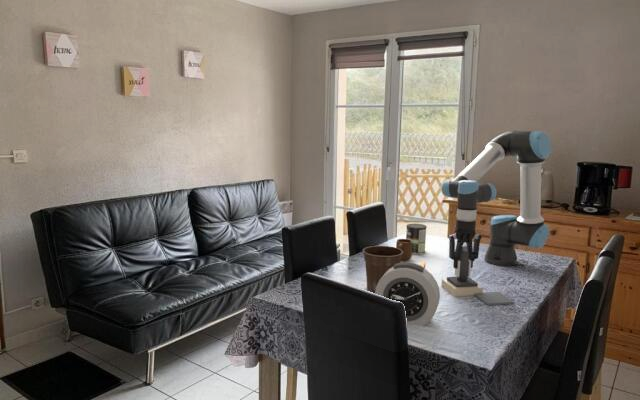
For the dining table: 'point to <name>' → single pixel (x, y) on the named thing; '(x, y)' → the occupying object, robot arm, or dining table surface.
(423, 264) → the orange lever handle
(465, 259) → the plug
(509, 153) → the robot arm
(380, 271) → the plant pot
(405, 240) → the mug
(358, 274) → the dining table surface
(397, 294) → the alarm clock
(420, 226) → the coffee can
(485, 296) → the mat
